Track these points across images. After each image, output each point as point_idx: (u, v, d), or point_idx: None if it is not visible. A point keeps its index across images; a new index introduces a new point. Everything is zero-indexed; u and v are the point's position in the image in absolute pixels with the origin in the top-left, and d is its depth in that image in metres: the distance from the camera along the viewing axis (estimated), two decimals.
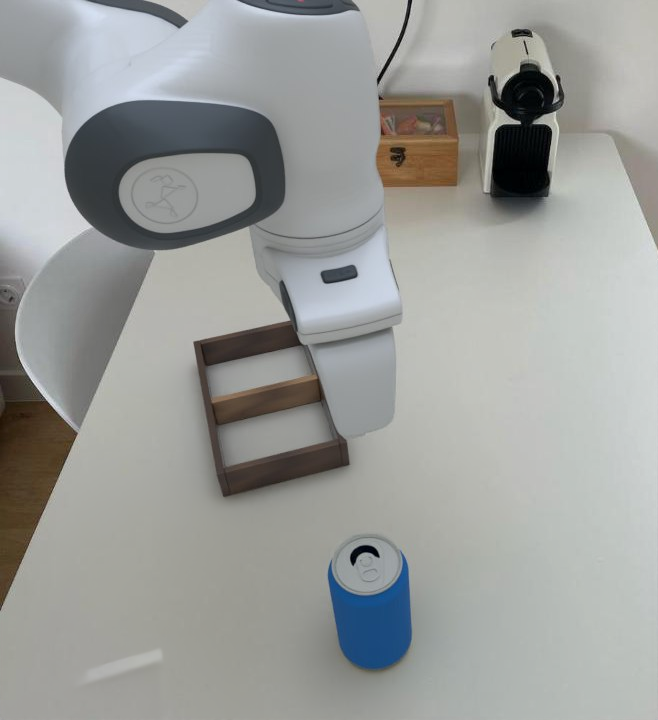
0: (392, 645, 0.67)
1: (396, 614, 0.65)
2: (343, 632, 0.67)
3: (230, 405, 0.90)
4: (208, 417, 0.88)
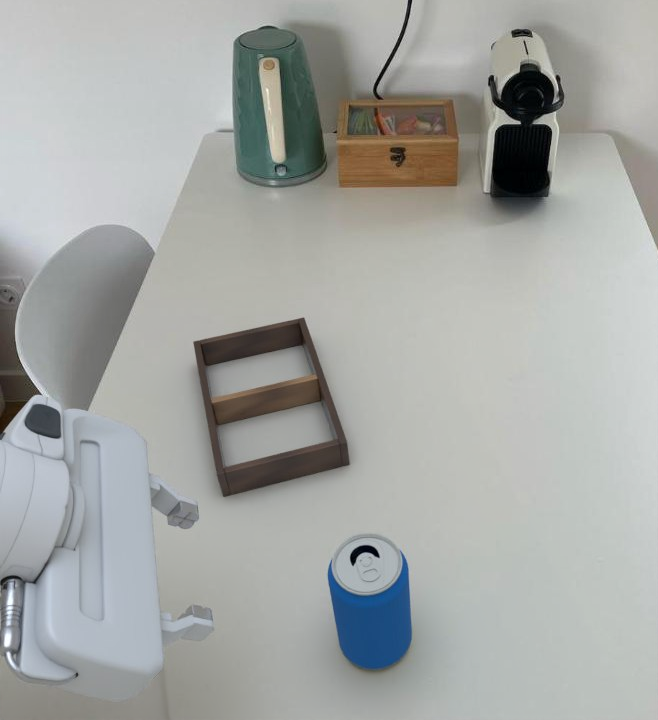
0: (392, 645, 0.67)
1: (396, 614, 0.65)
2: (343, 632, 0.67)
3: (230, 405, 0.90)
4: (208, 417, 0.88)
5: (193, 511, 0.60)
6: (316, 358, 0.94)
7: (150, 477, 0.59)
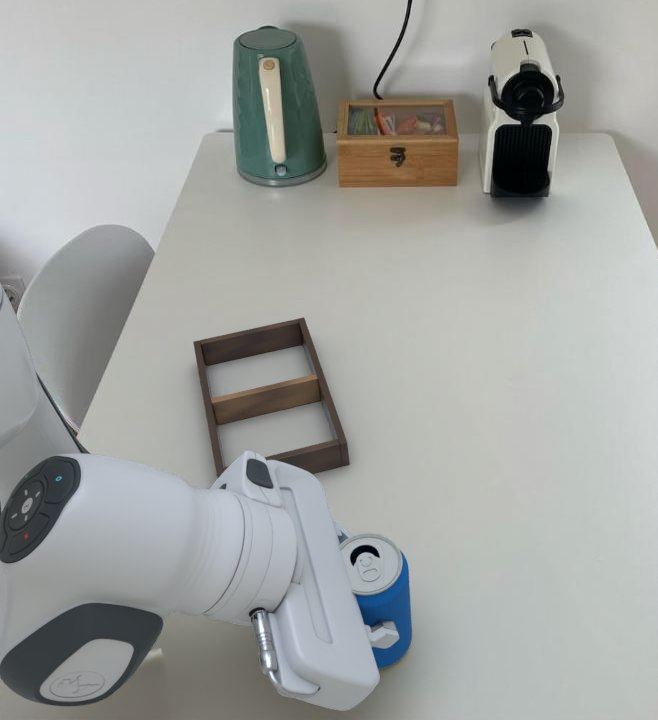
0: (392, 645, 0.67)
1: (396, 614, 0.65)
2: None
3: (230, 405, 0.90)
4: (208, 417, 0.88)
5: None
6: (316, 358, 0.94)
7: None
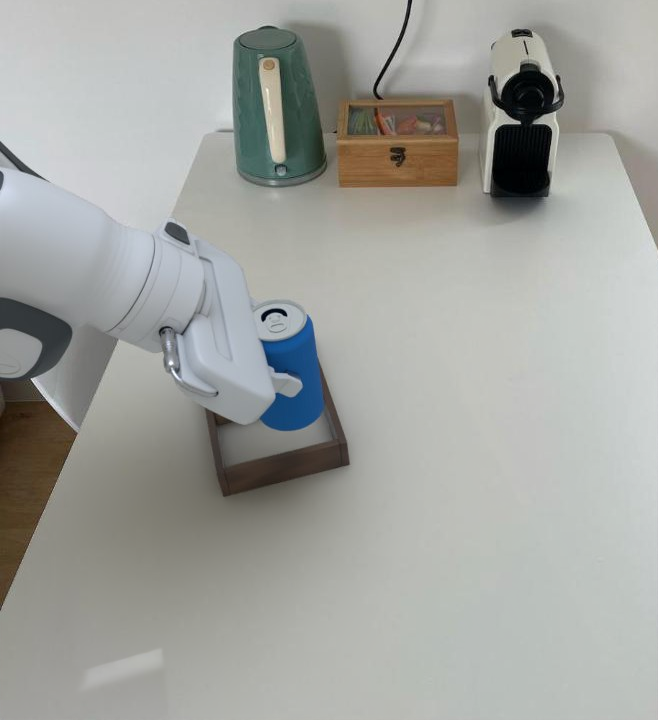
0: (301, 404, 0.75)
1: (302, 367, 0.72)
2: None
3: None
4: (208, 417, 0.88)
5: None
6: None
7: None
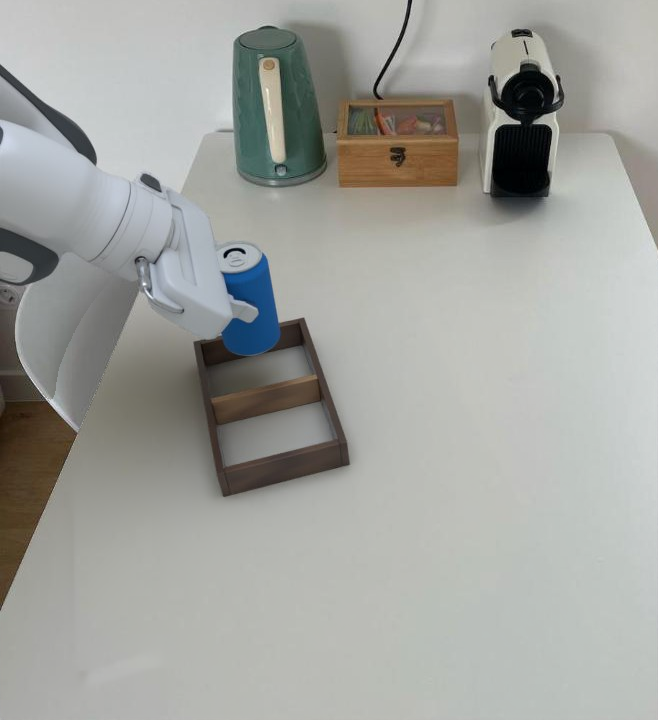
0: (259, 331, 0.88)
1: (258, 297, 0.85)
2: None
3: (230, 405, 0.90)
4: (208, 417, 0.88)
5: None
6: (316, 358, 0.94)
7: (214, 241, 0.89)
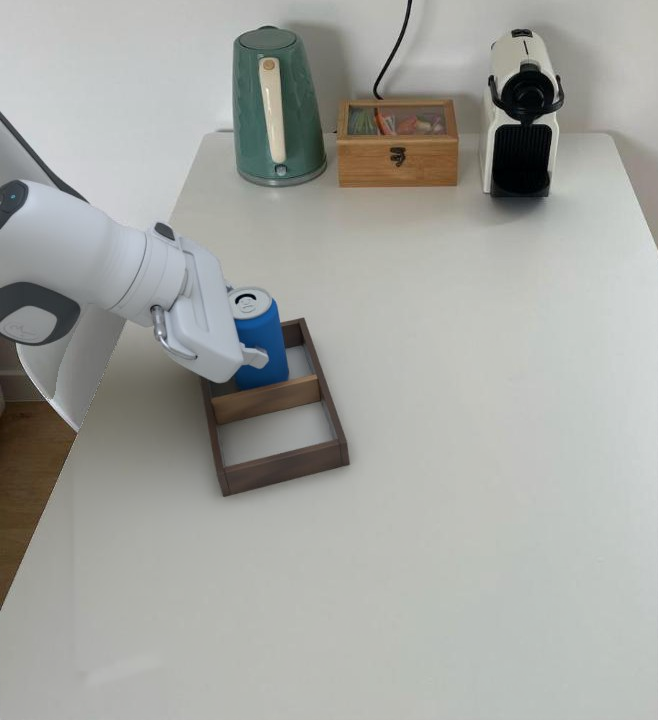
0: (269, 372, 0.92)
1: (268, 341, 0.90)
2: None
3: (230, 405, 0.90)
4: (208, 417, 0.88)
5: None
6: (316, 358, 0.94)
7: (223, 280, 0.93)
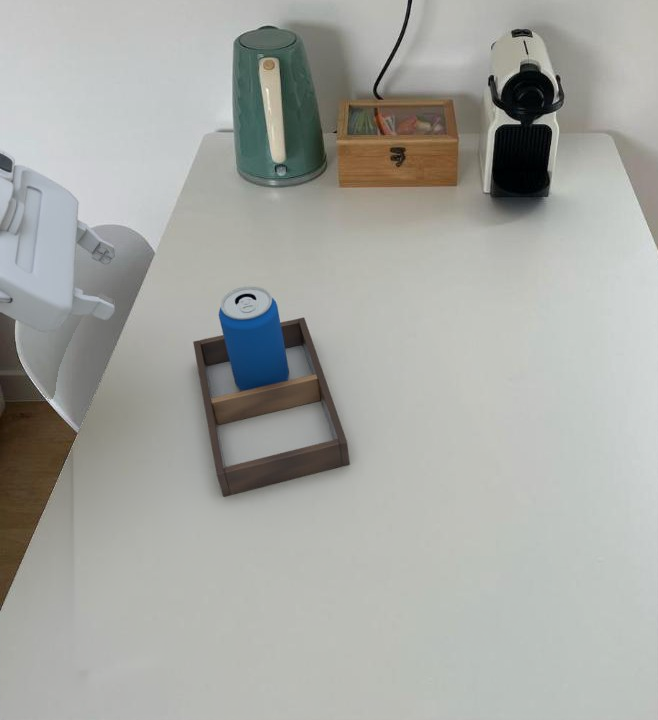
0: (269, 372, 0.92)
1: (268, 341, 0.90)
2: (233, 360, 0.92)
3: (230, 405, 0.90)
4: (208, 417, 0.88)
5: (110, 249, 0.84)
6: (316, 358, 0.94)
7: (79, 222, 0.84)
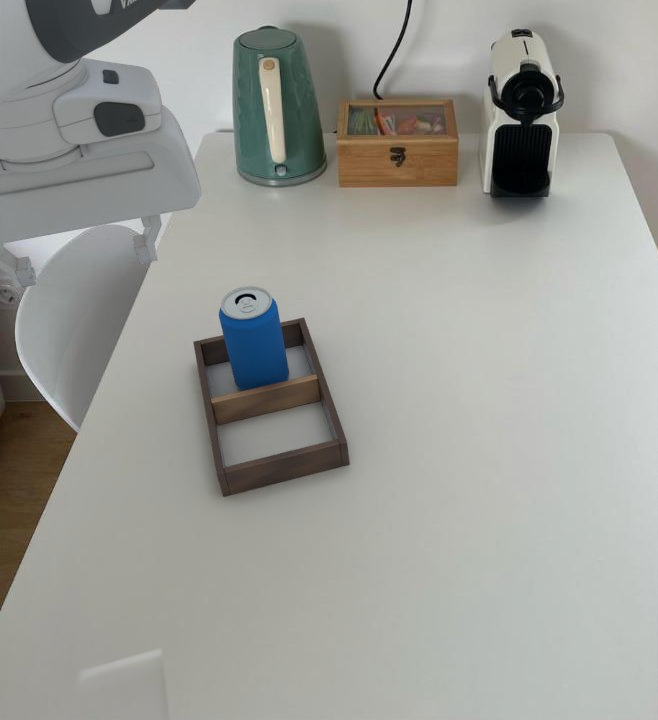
0: (269, 372, 0.92)
1: (268, 341, 0.90)
2: (233, 360, 0.92)
3: (230, 405, 0.90)
4: (208, 417, 0.88)
5: (140, 258, 0.64)
6: (316, 358, 0.94)
7: (154, 216, 0.62)
